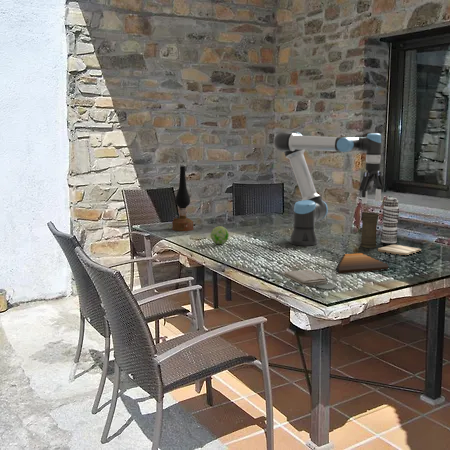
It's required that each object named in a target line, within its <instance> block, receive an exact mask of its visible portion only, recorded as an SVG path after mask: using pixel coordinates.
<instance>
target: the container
mask: <svg viewBox="0 0 450 450" xmlns="http://www.w3.org/2000/svg"><path fill="white" fill-rule="evenodd" d="M361 216H362V217H361V218H362V225H361V236H360V244H359V245H360V247H361V248H364V249H365V248H366V249H374V248H377V246H378V245H377V243H378V242H377V226H378V225H377V224H378V217H379V214H378V213H373V212H363V213H361Z"/></svg>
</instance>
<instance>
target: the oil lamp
mask: <svg viewBox="0 0 450 450" xmlns="http://www.w3.org/2000/svg"><path fill="white" fill-rule="evenodd" d="M174 201H175V204H176V206H177V207H178V209H177V211H178V214H179V215H177V214H176V215H175V217H174V218H173V220H172V222H171V223H172V224H171V227H172V228H171V230H172V231H175V232H191V231H194V221H193V220H192V219H190V218H188V217H187V214H188V209H187V207H188V206H190V204H191V199H190V195H189V192H188V188H187V179H186V166H184V165H183V166H181V165H180V166H179V185H178V189H177V193H176V196H175V200H174ZM177 217H178V218H177Z"/></svg>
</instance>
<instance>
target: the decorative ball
mask: <svg viewBox="0 0 450 450" xmlns="http://www.w3.org/2000/svg"><path fill="white" fill-rule="evenodd" d="M229 237H230V234H229V231H228V229H227V228H226V227H224V226H220V225H219V226H216V227H214V228H213V229H212V230H211V232H210V239H211V241H212V242H213V243H214V244H217V245H223V244H226V243H227V242H228V240H229Z"/></svg>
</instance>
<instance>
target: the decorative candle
mask: <svg viewBox="0 0 450 450" xmlns="http://www.w3.org/2000/svg"><path fill="white" fill-rule="evenodd" d="M383 201H384V202H383V204H384V205H383V207H382V216H383V217H382V222H383V223H382V229H381V231H382V232H381V234H382V235H381V238H380V241H381V243H385V244H396V243H397V240H398V239H397V238H398V236H397V235H398V233H397V232H398V225H397V224H398V222H399V221H398V220H399V213H400V211H399V210H400V208H399V202H400V201H399V200H398V199H397V198H396V197H386V198H385V199H384V200H383Z"/></svg>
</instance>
